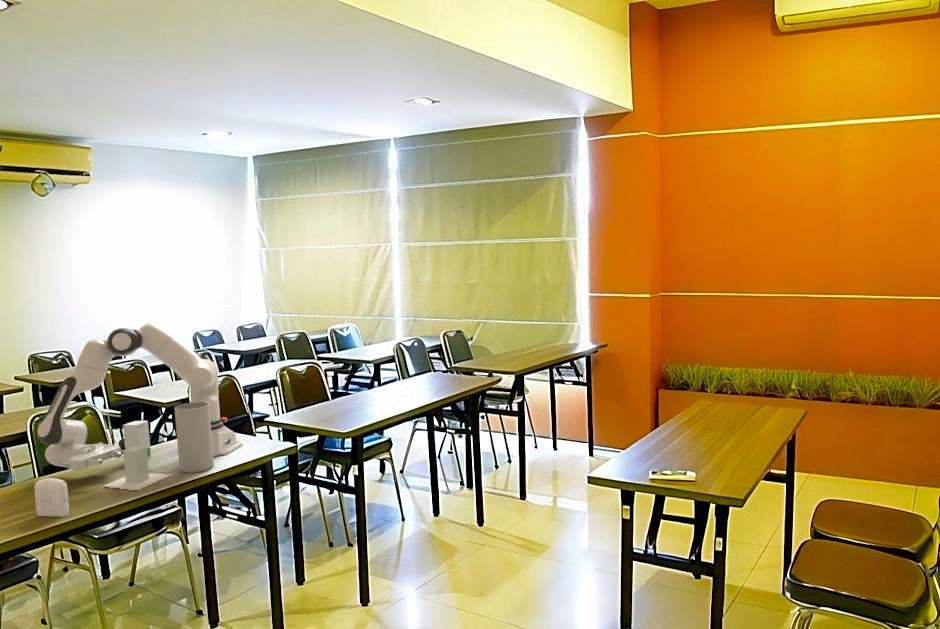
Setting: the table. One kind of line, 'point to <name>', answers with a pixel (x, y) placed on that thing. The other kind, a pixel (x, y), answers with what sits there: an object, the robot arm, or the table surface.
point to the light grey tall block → (136, 464)
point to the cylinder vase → (194, 437)
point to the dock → (137, 486)
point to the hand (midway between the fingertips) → (110, 458)
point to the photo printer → (51, 497)
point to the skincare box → (137, 435)
